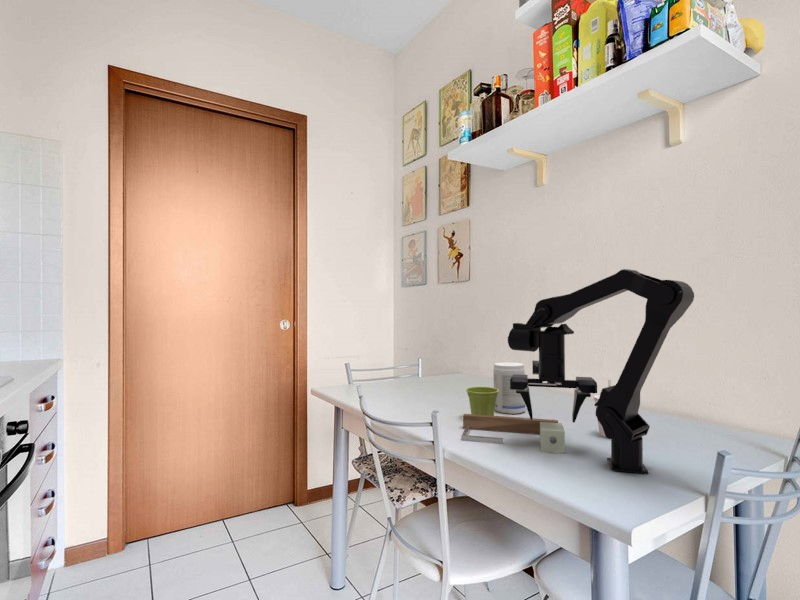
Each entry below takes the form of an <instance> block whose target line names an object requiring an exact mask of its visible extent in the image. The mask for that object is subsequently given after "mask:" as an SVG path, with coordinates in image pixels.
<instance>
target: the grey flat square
mask: <svg viewBox="0 0 800 600" xmlns="http://www.w3.org/2000/svg"><path fill="white" fill-rule="evenodd" d="M470 431H471V429H470V426H466V428H465V429H463V431H462V434H461V435H460V436H461V437H460V439H461V441H468V442H469V441H470V442H478V443H479V442H480V443H481V442H482V443H492V444H504V437H493V436H482V435H470V434H469V433H470Z"/></svg>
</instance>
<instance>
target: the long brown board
mask: <svg viewBox="0 0 800 600" xmlns="http://www.w3.org/2000/svg"><path fill="white" fill-rule="evenodd" d="M540 422H550V423H559V420H558V419H547V418H534V417H532V420H531V419H530V417H516V416H503V415H502V416H501V415H494V416H491V415H476V414H471V413H463V415H462V429H463V430H465V428H466V426H470V430H475V431H477V430H478V431H490V432H502V433H503V432H504V433H515V434H526V435H529V434H530V435H539V436H540Z"/></svg>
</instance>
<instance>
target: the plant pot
mask: <svg viewBox="0 0 800 600" xmlns="http://www.w3.org/2000/svg"><path fill="white" fill-rule="evenodd" d="M465 392H467V396H468V400H469V406H470V414H476V415H491V416H495V412H496V410H495V403H496V397H497V394H498V392H499V390H498V389H496V388H494V387H490V386H470V387H466V388H465Z"/></svg>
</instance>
